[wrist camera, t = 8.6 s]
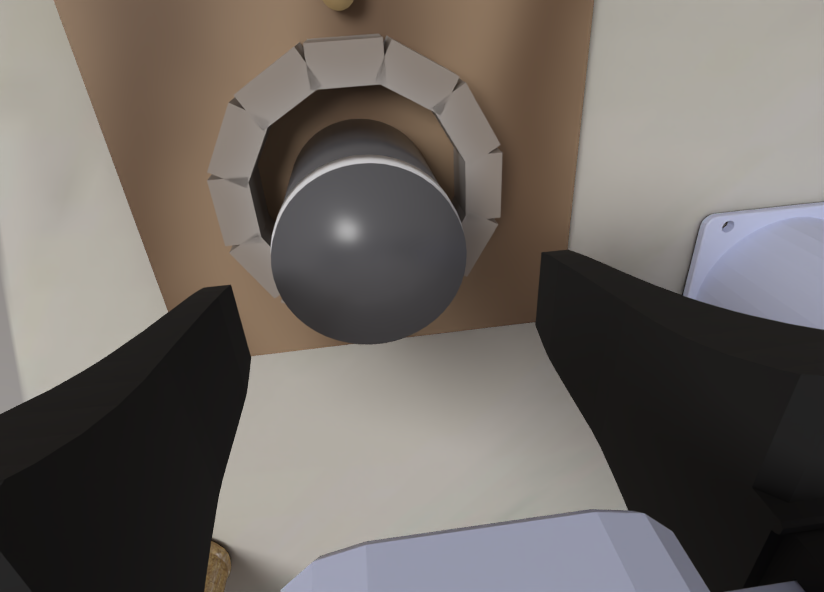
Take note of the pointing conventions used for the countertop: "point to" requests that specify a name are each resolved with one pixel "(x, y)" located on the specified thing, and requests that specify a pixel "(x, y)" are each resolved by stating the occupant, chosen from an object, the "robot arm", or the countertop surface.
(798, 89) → the countertop surface
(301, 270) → the lens
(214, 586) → the sprinkles bottle
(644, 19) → the countertop surface
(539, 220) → the mount board
